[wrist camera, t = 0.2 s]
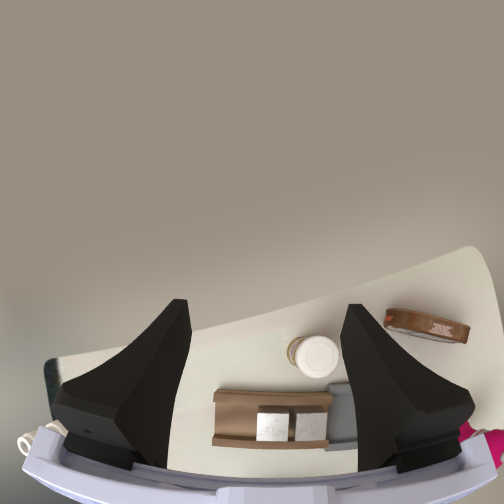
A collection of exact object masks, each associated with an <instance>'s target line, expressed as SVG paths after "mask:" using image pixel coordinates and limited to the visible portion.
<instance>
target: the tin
mask: <svg viewBox="0 0 504 504" xmlns="http://www.w3.org/2000/svg"><path fill="white" fill-rule="evenodd" d="M384 327H385V328H387V329H390V330H393V331H397V332H401V333H405V334H408V335H412V336H416V337H420V338H425V339H430V340H434V341H440V342H446V343H463V344H466V343H467V340H468V335H469V331H470V329H471V328H470V327H469V326H467V325H465V324H461V323H457V322H453V321H450V320H446V319H442V318H439V317H435V316H431V315H428V314H424V313H420V312H415V311H409V310H403V309H387V310H386V317H385V321H384Z"/></svg>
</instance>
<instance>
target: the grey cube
mask: <svg viewBox="0 0 504 504" xmlns="http://www.w3.org/2000/svg"><path fill="white" fill-rule="evenodd" d="M288 425H289V412H288V409H287V407H258V417H257V438H256V441H287V440H288Z"/></svg>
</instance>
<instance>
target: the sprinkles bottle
mask: <svg viewBox="0 0 504 504" xmlns="http://www.w3.org/2000/svg"><path fill="white" fill-rule="evenodd" d="M287 357H288V360H289V361H290V362H291V364H293V365H294V366H296V367H297V368H298V369H299V370H300V371H301V372H302V373H303V374H305V375H307V376H309V377H311V378H323V377H326V376H328V375H329V374H331V373H332V372H333V371H334V370H335V369H336V367H337V365H338V363H339V358H340V354H339V349H338V347H337V345H336V344H335V342H334V341H333V340H331V339H330V338H328V337H325V336H319V335H317V336H311V337H300V338H296V339H294V340H293V341H292V342H291V343H290V344H289V346H288V348H287Z"/></svg>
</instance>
